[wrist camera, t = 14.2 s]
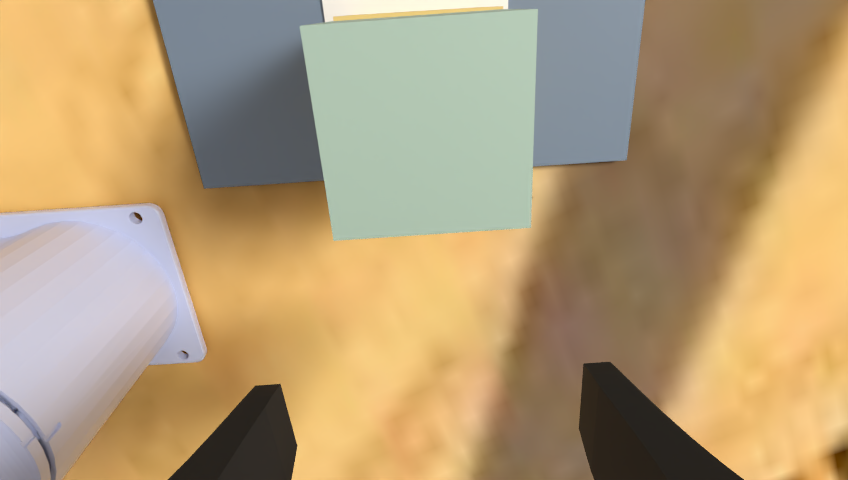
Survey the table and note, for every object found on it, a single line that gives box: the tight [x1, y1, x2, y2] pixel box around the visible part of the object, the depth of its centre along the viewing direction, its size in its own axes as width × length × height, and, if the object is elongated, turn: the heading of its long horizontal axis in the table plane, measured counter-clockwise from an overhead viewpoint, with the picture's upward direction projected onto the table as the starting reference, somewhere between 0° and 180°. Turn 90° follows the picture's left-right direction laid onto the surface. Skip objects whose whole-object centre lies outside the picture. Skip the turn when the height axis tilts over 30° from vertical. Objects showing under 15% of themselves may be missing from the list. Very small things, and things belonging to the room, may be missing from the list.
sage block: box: [300, 9, 538, 241], centre depth 12 cm, size 5×5×4 cm
